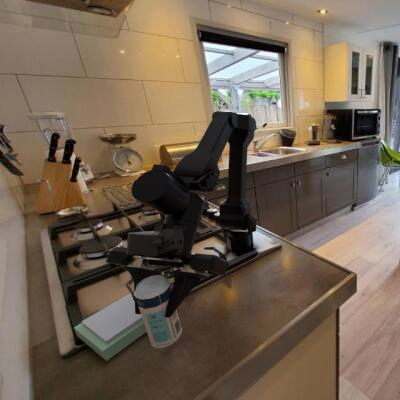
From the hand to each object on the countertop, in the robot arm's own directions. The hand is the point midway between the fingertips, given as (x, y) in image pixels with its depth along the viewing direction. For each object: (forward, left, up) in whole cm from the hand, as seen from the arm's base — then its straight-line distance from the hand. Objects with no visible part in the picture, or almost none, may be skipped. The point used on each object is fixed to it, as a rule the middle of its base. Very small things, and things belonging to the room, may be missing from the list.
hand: (152, 315), depth 40 cm
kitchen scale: (+4, -12, -9) cm, 15 cm away
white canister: (-1, -1, -7) cm, 7 cm away
